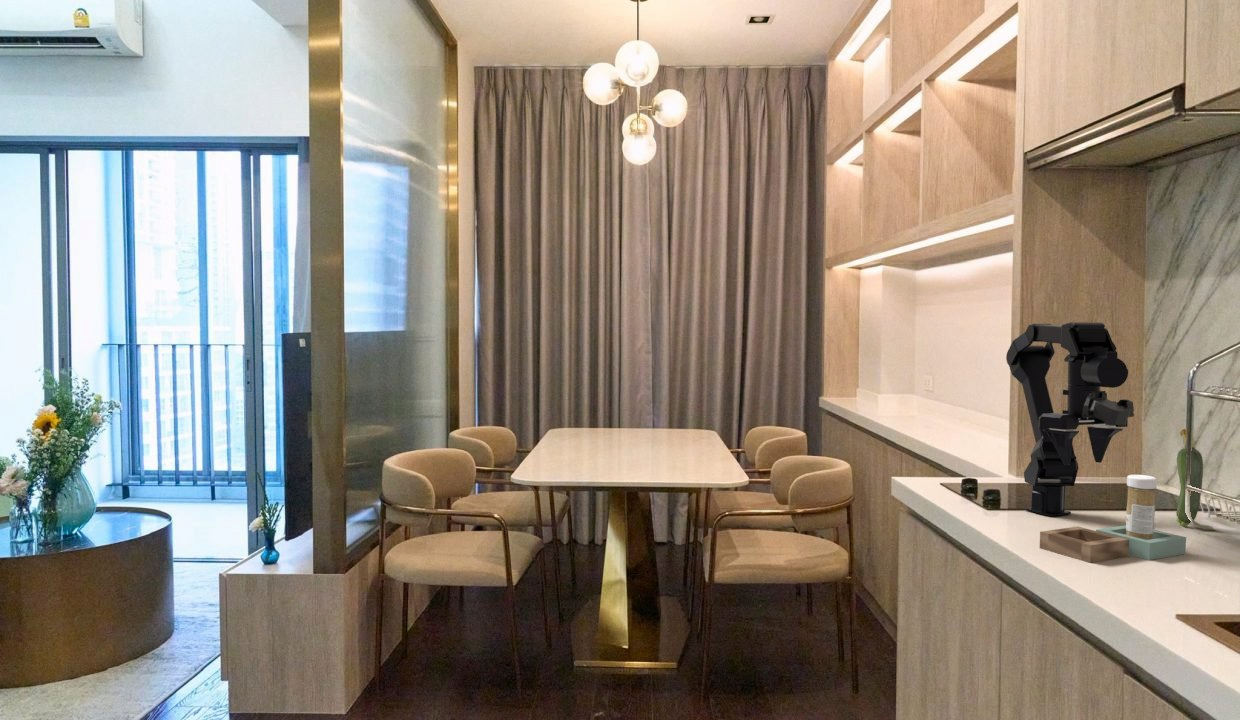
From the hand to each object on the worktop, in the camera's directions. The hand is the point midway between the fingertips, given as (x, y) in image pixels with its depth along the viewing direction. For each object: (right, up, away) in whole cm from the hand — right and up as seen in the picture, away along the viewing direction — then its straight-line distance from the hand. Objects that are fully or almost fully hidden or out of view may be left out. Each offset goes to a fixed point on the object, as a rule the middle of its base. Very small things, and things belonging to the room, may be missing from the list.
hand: (1082, 463), depth 166 cm
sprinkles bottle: (+2, -14, -14) cm, 20 cm away
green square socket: (+2, -14, -14) cm, 20 cm away
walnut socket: (-9, -14, -16) cm, 23 cm away
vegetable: (+22, -13, +2) cm, 26 cm away
